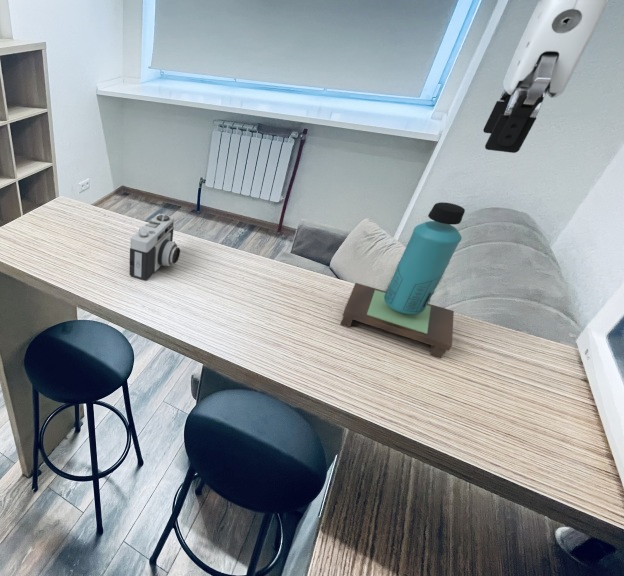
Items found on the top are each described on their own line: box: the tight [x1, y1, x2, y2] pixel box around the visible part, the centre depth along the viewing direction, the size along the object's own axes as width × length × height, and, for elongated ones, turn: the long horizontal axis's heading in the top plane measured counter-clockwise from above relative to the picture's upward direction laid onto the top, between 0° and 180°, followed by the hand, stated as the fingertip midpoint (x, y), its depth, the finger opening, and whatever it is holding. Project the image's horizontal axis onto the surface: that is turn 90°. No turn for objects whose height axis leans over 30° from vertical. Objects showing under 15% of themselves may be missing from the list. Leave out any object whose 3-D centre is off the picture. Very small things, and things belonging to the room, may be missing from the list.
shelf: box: [340, 282, 455, 359], centre depth 74 cm, size 16×11×4 cm
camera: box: [129, 213, 181, 281], centre depth 90 cm, size 14×8×10 cm, turn 149°
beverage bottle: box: [384, 202, 466, 314], centre depth 67 cm, size 6×7×20 cm
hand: (498, 141), depth 53 cm, fingers open, 9 cm apart
